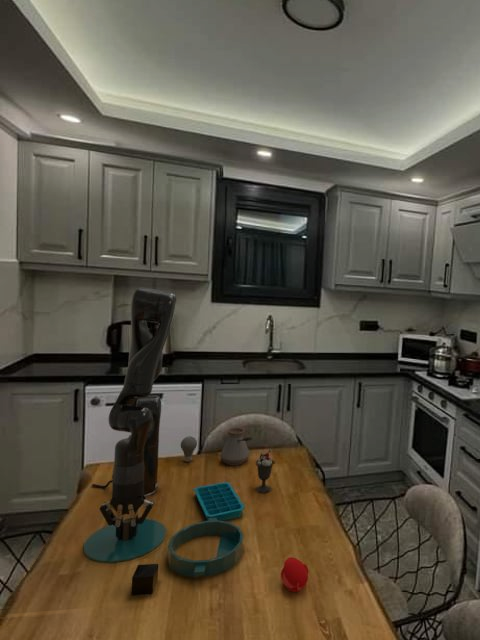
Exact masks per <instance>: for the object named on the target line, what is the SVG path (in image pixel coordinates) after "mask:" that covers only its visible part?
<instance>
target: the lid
mask: <svg viewBox="0 0 480 640" xmlns="http://www.w3.org/2000/svg"><path fill="white" fill-rule="evenodd" d="M130 527H131V520H130V518H125V519H123V521H122V539H121V540H118V538H116V527H115V526H114V525H108V524H107V525H106V526H103V527H101V528H98V530H96V531H94V532H93V533H92V534H91V535H89V537H88V538H87V539H86V540H85V542H84V545H83V553H84V555H85V556H86V557H87V558H88V559H90V560H92V561H95V562H98V563H105V564H106V563H107V564H111V563H115V564H116V563H123V562H127V561H131V560H134V559H138V558H140V557H143V556H145V555H147V554H149V553H151V552H152V551H154V550H155V549H157V548H158V547H159V546H161V544H162V543H163V542H164V540H165V538H166V536H167V535H166V534H167V530H166V527H165V526H164V524H162V523H161V522H160V521H157V520H155V519H150V518H146V519H145V520H144V522H143V523H142V524H138V532H137V534H136V536H135V537H134V538H133V539H130Z"/></svg>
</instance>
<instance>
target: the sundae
mask: <svg viewBox="0 0 480 640" xmlns="http://www.w3.org/2000/svg"><path fill="white" fill-rule="evenodd" d="M270 452H271V450H270V449H269V450H268V451H267V452H266V453H264V454H263V453H260V456H259V459H257V460H255V465H256V467H257V475H258V478H259V480H260V481H261V485H259V486H257V487H256V488H255V490H256V492H258V493H263V494H264V493H268V492H270V491H271V487H270V486H269V485H266V481H267V480H268V479H269V478H270V477H271V473H272V469H273V467H274V464H276V462H275V460H273V459H272V458H271V455H270Z"/></svg>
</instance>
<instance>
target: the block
mask: <svg viewBox="0 0 480 640" xmlns="http://www.w3.org/2000/svg"><path fill="white" fill-rule="evenodd" d="M158 580H159V563H146V564H138V565H137V566H136V568H135V571H134V573H133V575H132V577H131V592H130V593H131V596H144V595H146V596H147V595H154V592H155V589H156V586H157V584H158V582H159V581H158Z"/></svg>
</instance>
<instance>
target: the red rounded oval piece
mask: <svg viewBox="0 0 480 640" xmlns="http://www.w3.org/2000/svg"><path fill="white" fill-rule="evenodd" d="M280 580H281V582H282V583H283V585H284V586H285V589H286V590H288V591H290V592H293V593H297V592H299V591H301V590H302V589H303V588H304V587H305V586H306V585H307V583H308V580H309V568H308V566H307V564H305V563H303V562H302V561H301V560H300V559H298V558H297V557H294V556H293V557H292V556H291V557H287V558H286V559H285V561H284V563H283V567H282V569H281V571H280Z"/></svg>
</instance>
